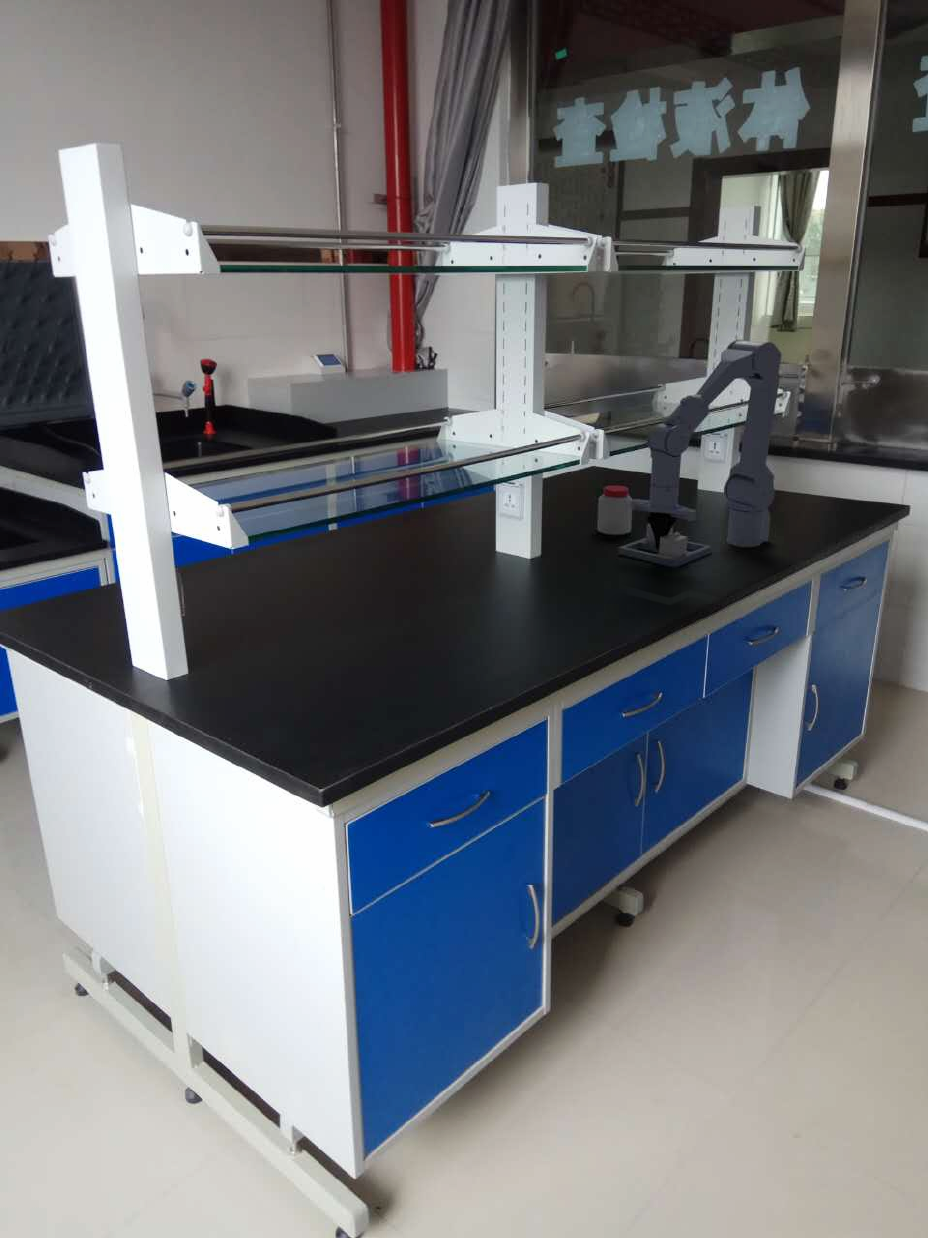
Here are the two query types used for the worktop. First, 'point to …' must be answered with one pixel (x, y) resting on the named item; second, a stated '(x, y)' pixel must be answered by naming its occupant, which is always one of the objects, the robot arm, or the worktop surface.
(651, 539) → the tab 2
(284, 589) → the worktop surface
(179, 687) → the worktop surface
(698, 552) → the dark blue tray
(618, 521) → the pill bottle
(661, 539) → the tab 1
